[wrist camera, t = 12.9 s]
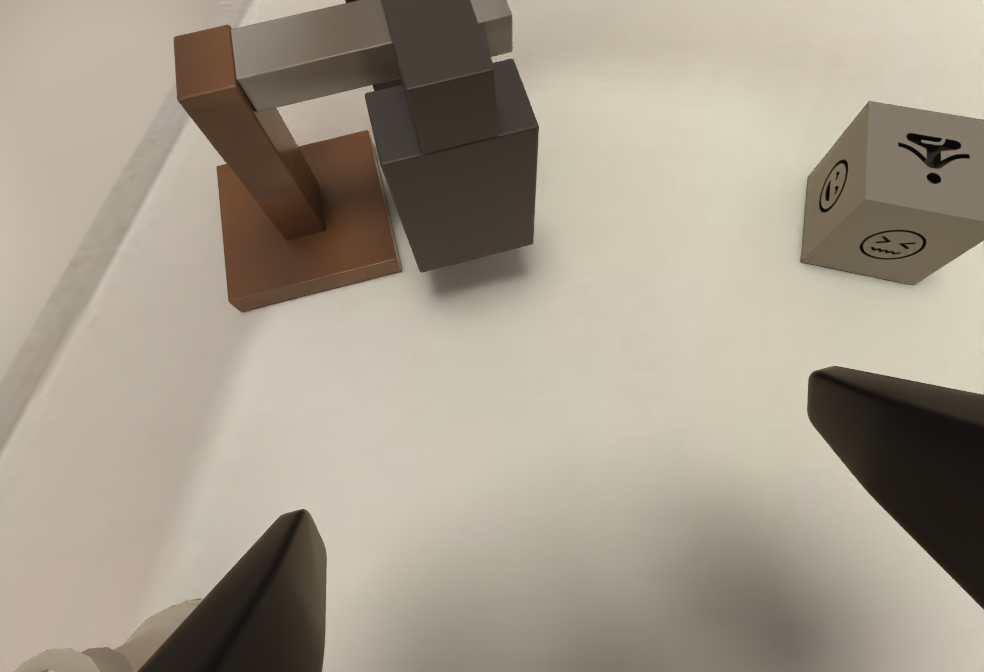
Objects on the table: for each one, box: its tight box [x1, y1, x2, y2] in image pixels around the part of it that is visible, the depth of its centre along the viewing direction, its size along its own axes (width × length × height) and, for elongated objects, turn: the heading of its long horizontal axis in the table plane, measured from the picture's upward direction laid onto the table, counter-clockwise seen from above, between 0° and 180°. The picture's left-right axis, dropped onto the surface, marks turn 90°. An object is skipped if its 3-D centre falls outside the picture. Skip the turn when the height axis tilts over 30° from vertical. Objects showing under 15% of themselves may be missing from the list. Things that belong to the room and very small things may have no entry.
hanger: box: [174, 0, 513, 312], centre depth 23 cm, size 14×8×10 cm, turn 105°
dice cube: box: [801, 101, 984, 285], centre depth 23 cm, size 5×5×5 cm
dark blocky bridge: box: [345, 0, 539, 272], centre depth 20 cm, size 12×5×10 cm, turn 15°
